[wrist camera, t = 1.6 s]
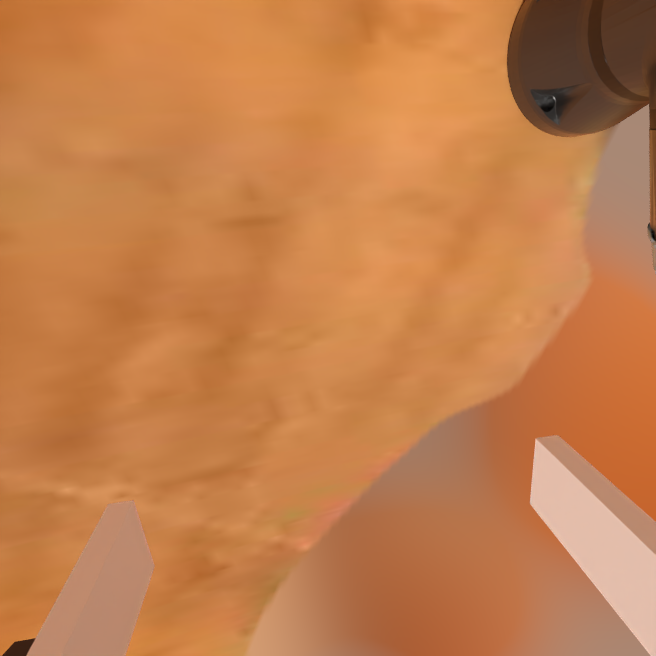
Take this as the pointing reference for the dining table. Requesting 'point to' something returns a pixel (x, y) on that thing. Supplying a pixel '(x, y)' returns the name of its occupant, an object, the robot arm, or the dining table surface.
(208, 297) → the dining table surface
